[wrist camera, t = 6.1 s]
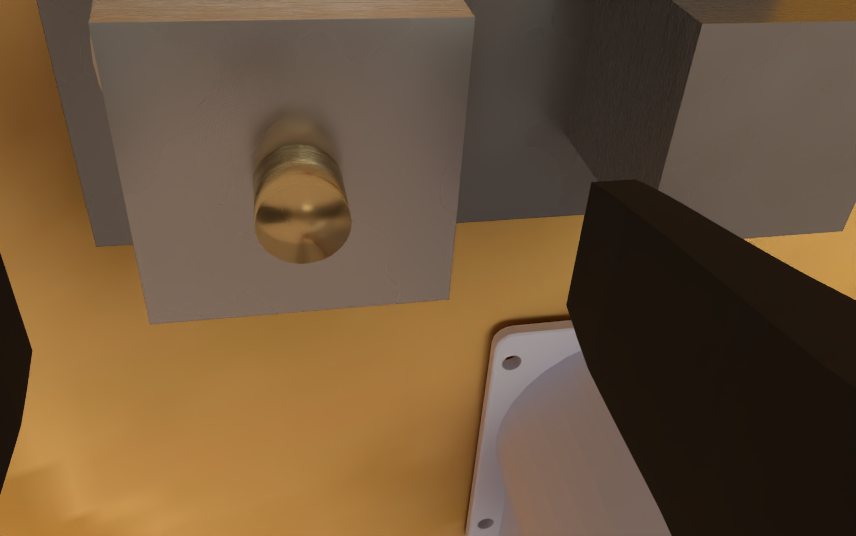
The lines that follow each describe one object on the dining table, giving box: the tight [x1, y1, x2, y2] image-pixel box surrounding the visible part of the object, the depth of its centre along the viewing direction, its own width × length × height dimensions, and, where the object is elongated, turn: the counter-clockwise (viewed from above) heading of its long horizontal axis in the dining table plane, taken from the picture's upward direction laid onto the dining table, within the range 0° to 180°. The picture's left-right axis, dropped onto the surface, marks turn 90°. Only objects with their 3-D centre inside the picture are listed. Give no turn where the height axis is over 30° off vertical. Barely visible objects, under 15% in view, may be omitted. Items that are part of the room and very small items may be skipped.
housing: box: [88, 0, 475, 324], centre depth 12 cm, size 4×4×6 cm
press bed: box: [37, 0, 856, 247], centre depth 14 cm, size 8×14×4 cm, turn 87°
